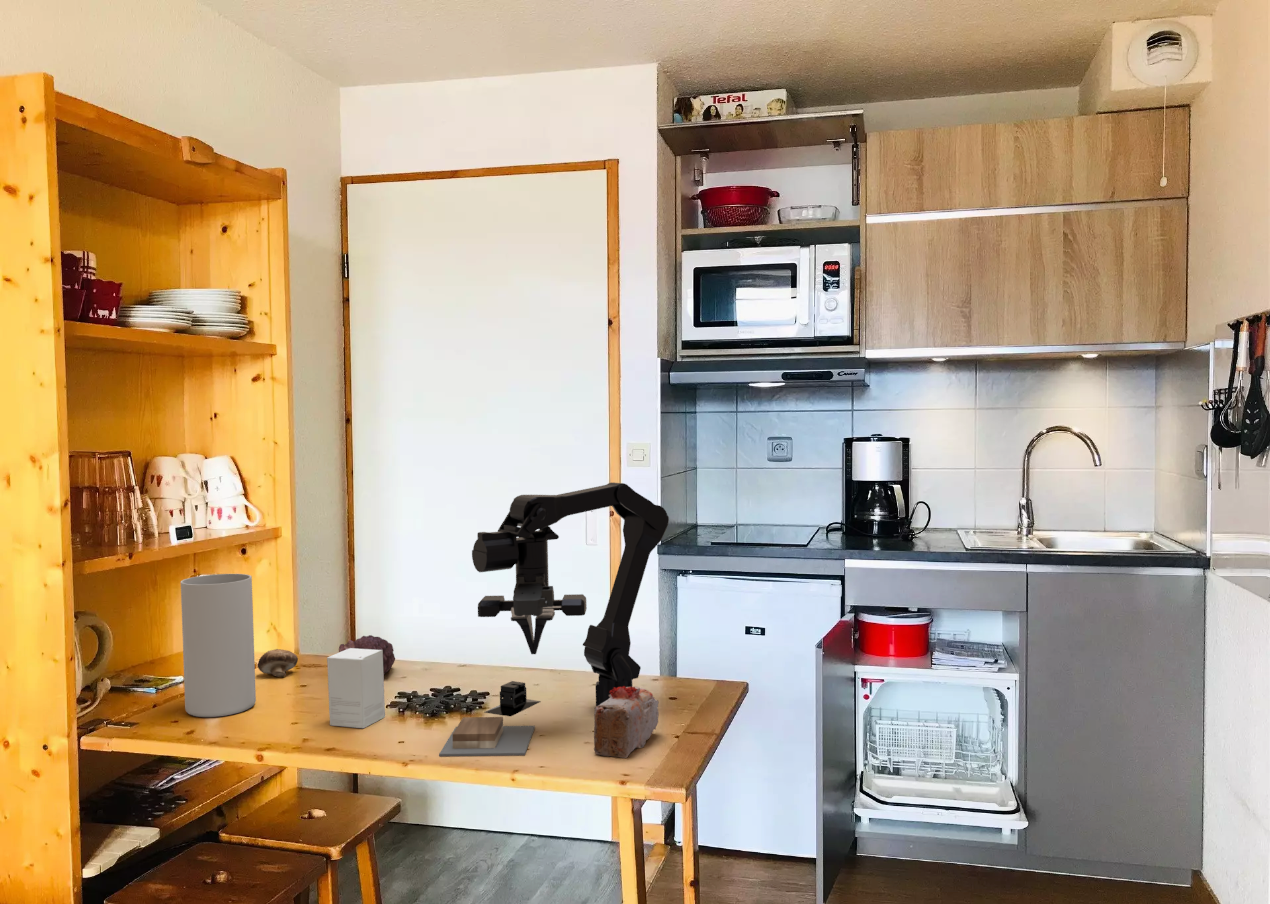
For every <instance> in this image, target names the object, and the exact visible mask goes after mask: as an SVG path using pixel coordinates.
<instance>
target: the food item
mask: <svg viewBox="0 0 1270 904" xmlns="http://www.w3.org/2000/svg"><path fill="white" fill-rule="evenodd" d="M609 697H610V698H609V699H608V700H606V701H605V702H603V703H602V704H600V705H598V706H597V707H596V706H594V713H593V714H594V715H593V716H594V717H593V720H594V725H593V726H594V728H593V747H594V748H593V750H594V754H596V755H599V756H601V757H603V756H605V757H613V758H614V757H615V758H620V759H627V758H628V756H630V754H631V753H632V752H633V751H634V750H635V749H643V748H644V747H645V745H646V743H647V742H646V741H648V739H650V738H651V735H653V732H654V730H656V729H657V726H658V723H659V714H660V713H659V708H658V707H659V700H657V699H656V698H655V697H654V695H653V693H652V692H651V691H649V690H648V689H646V688H642V687H640V686H633V687H625V686H623V687H618V688H615V687H614V689H613V690H611V691H610V695H609Z"/></svg>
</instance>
